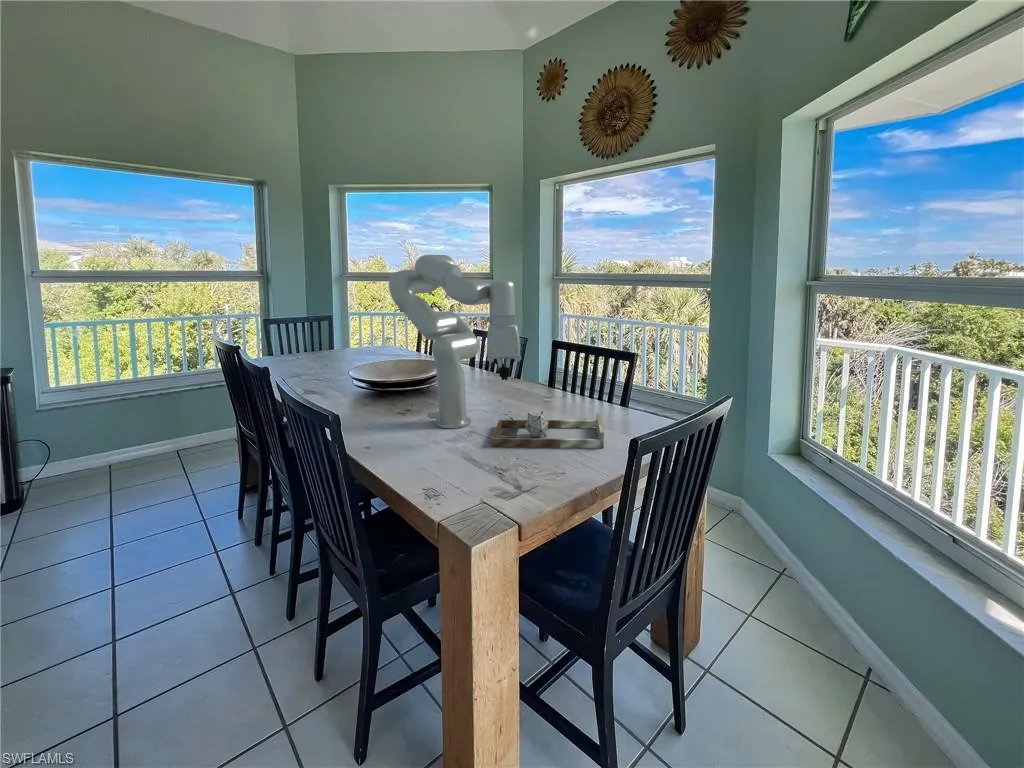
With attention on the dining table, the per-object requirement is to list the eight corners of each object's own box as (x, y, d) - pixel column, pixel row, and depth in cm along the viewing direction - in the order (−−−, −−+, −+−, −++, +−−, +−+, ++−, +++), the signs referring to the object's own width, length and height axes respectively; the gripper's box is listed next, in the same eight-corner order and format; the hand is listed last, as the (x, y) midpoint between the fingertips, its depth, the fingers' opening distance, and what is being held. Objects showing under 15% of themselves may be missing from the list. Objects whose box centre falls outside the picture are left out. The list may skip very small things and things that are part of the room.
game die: (541, 449, 162) (548, 431, 154) (517, 439, 162) (523, 420, 155) (549, 428, 167) (557, 410, 160) (526, 419, 168) (532, 400, 161)
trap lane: (491, 446, 154) (490, 431, 153) (499, 426, 173) (499, 412, 172) (603, 448, 150) (603, 432, 149) (599, 427, 170) (599, 413, 168)
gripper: (477, 322, 152) (479, 381, 156) (526, 322, 150) (527, 381, 154) (481, 320, 159) (483, 376, 163) (528, 319, 158) (529, 376, 162)
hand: (504, 379), depth 159 cm, fingers closed
